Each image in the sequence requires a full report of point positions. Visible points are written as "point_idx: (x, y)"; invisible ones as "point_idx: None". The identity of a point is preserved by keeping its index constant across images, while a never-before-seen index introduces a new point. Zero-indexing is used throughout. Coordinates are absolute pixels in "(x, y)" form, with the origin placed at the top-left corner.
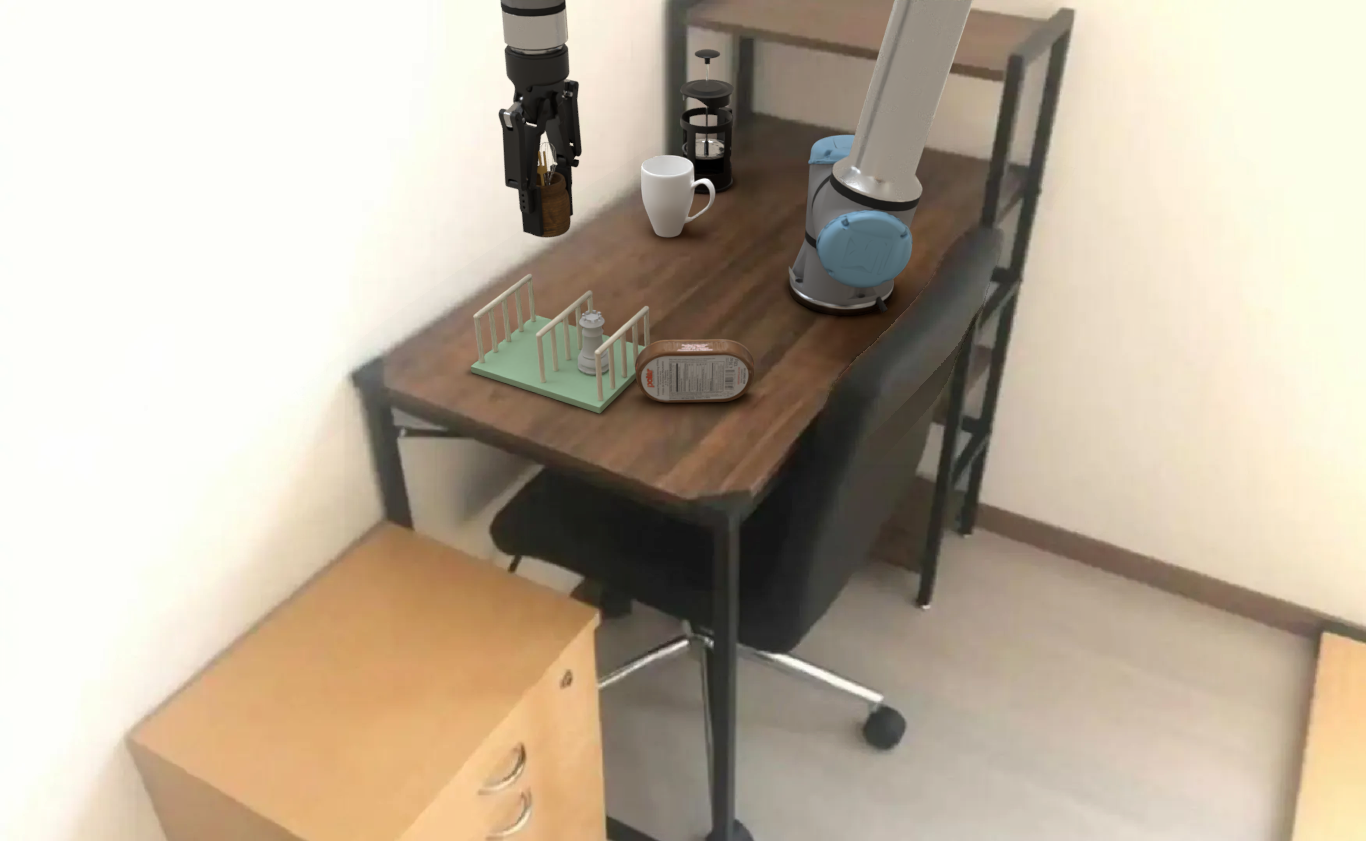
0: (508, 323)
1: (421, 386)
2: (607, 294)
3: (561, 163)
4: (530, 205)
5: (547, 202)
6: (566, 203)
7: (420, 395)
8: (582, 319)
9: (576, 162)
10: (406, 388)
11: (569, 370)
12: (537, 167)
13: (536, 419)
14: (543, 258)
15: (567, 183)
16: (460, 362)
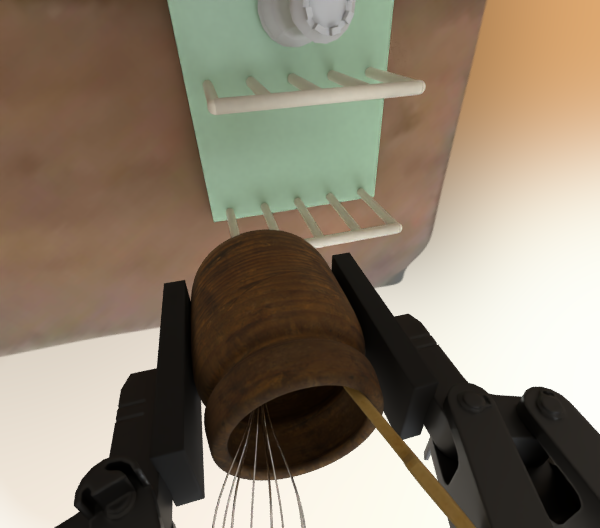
0: (307, 211)
1: (415, 217)
2: (45, 179)
3: (166, 501)
4: (416, 338)
5: (350, 325)
6: (266, 293)
7: (432, 205)
8: (346, 23)
9: (104, 489)
10: (424, 227)
11: (321, 50)
12: (485, 498)
13: (441, 17)
14: (61, 331)
15: (185, 385)
16: (355, 219)
